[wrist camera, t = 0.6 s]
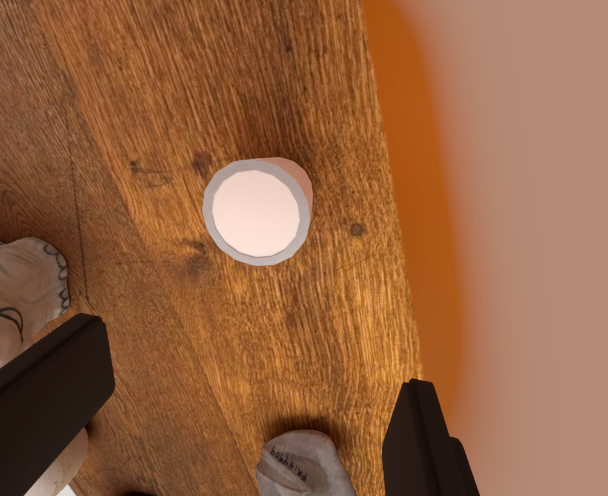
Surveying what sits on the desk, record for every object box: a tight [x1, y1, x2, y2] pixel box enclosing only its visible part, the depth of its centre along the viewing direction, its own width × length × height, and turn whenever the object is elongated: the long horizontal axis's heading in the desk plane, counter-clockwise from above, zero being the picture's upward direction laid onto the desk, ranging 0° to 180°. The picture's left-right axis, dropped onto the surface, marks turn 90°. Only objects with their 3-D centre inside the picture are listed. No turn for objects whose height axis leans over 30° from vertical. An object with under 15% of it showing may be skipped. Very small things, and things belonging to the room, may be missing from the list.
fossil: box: [256, 429, 357, 496], centre depth 33 cm, size 11×9×8 cm
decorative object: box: [24, 428, 88, 496], centre depth 36 cm, size 9×9×10 cm
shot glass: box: [202, 157, 313, 266], centre depth 22 cm, size 7×7×7 cm
